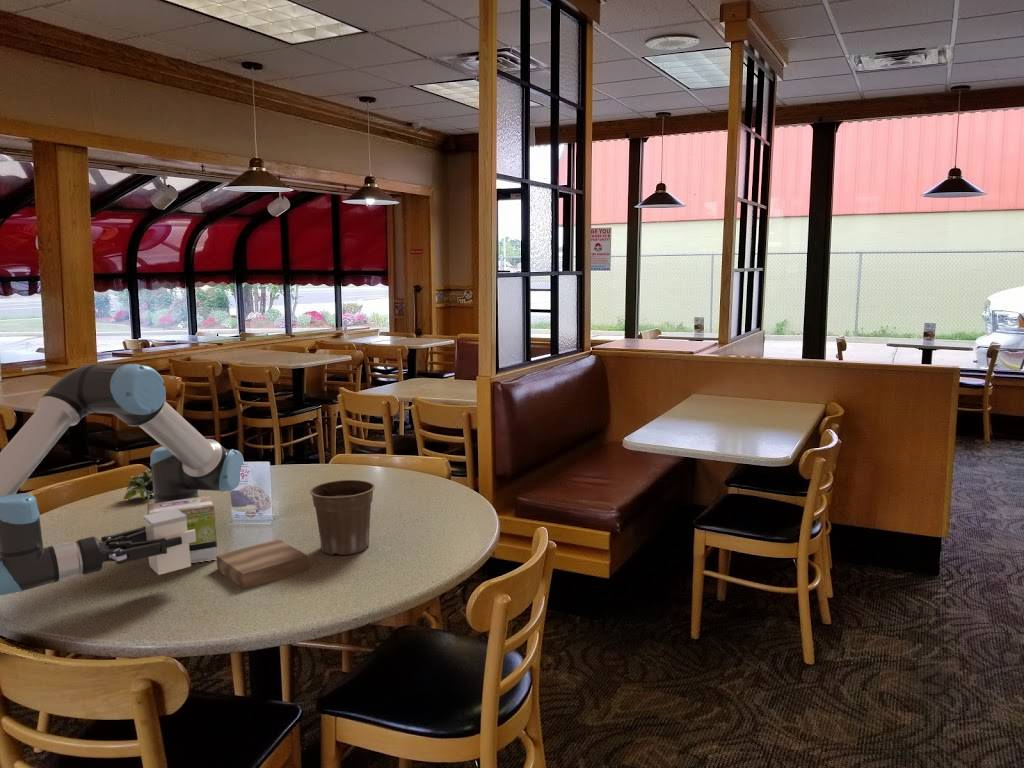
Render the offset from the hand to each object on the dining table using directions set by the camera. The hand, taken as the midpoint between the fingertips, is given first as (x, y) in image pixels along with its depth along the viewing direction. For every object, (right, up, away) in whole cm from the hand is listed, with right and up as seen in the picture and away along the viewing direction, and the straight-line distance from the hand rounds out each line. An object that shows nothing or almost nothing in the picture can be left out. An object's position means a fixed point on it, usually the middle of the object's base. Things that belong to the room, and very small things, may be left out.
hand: (189, 531), depth 177 cm
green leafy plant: (-43, -3, +70) cm, 82 cm away
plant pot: (+31, -9, +23) cm, 40 cm away
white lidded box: (-4, -8, -2) cm, 9 cm away
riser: (+14, -12, +10) cm, 20 cm away
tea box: (-8, -11, +17) cm, 22 cm away
